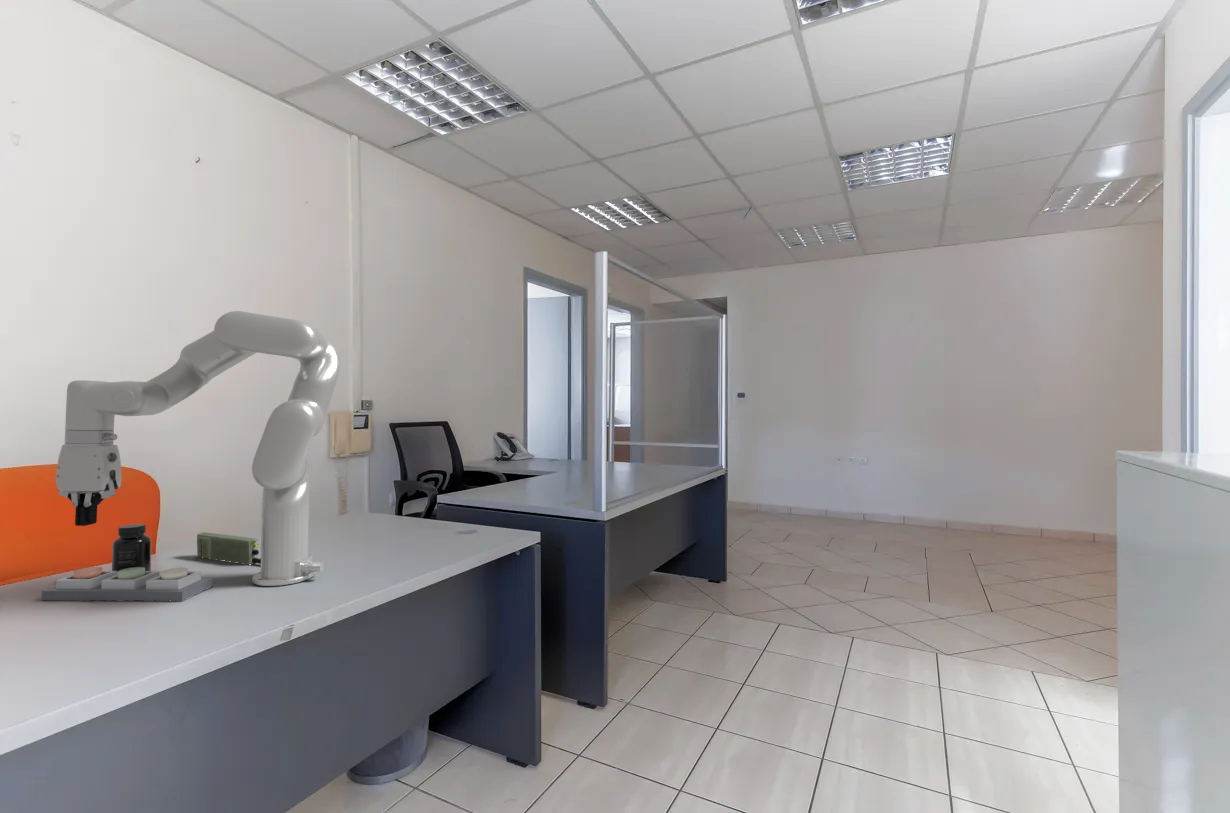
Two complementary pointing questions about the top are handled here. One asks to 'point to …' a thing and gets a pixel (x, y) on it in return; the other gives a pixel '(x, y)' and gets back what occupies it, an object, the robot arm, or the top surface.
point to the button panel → (128, 587)
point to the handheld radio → (228, 548)
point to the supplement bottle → (131, 548)
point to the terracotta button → (87, 573)
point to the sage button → (131, 573)
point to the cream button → (174, 573)
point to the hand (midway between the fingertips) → (85, 524)
